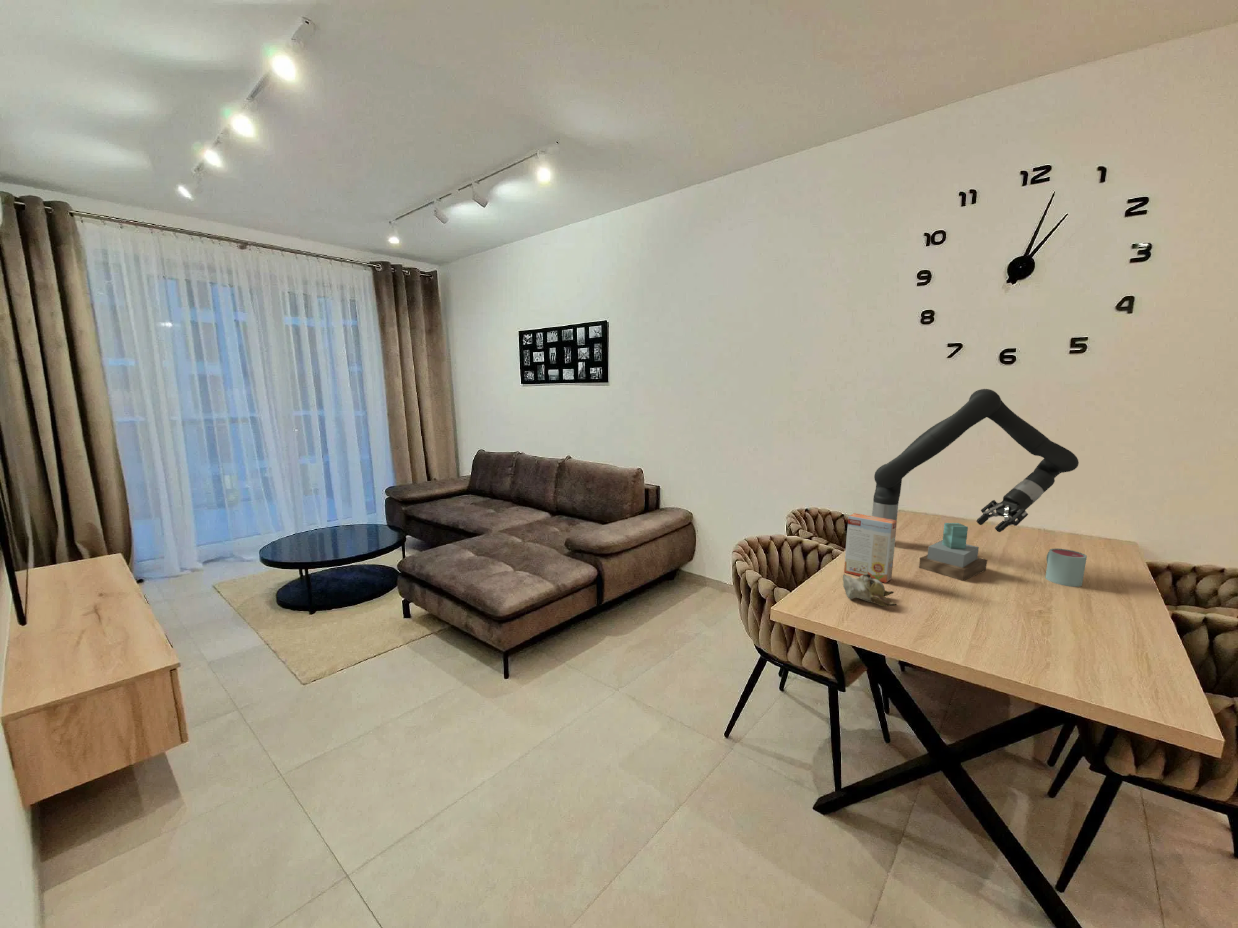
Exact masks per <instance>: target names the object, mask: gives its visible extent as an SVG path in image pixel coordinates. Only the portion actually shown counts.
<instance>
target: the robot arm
mask: <svg viewBox="0 0 1238 928" xmlns="http://www.w3.org/2000/svg"><path fill="white" fill-rule="evenodd" d="M986 418H988V419H989V420H991V421H992V422H993V423H995V424H996V425H998V427H1000V428H1001V429H1002V430H1003V431H1004V432H1005V433H1006V434H1008V436H1010V437H1011V438H1012V439H1013V440H1014V442H1016V443H1017V444H1018V445H1019V446H1021V447H1022V448H1023V449H1024V450H1026V451H1027V452H1028V453H1029V454H1031V455H1033V456H1037V457H1041V458H1043V459H1042V460H1040V462H1039V463H1038V464H1037V465H1036V467H1035V468H1034V470H1033V471H1032V472H1031V473H1030V474H1029V475H1028V474H1027V476H1026V477H1025V478H1023V480H1021V481H1020V482H1018V483H1017V484H1016V485H1015V486H1013V487H1012V488H1011V489H1010V490H1009V491H1008V492H1007V493H1006V494H1004V495H1003V497H1002V501H1000V502H997V501H996V500H995V499H993V500H991V501H990V502H989V503H988V504H986V505H985V506H984V507H983V508H981V509H980V512H981V513H982V514H981V515H980V516H979V517H978V518H977V519H976V522H977V524H978V525H980V526H982V525H984V524H985V523H986V522H987V521H989V519H991V518H992V517H1003V518H1004V519H1003V520H1002V521H1000V522H999V523H998V524H997V525H996V526H995V527H994V530H996V532H998V533H1001V532H1003V531H1004V530H1005V529H1006V528H1007V527H1009V526H1014V527H1016V526H1019V524H1020V523H1022V521H1023V520H1024V519H1025V518H1026V517H1028V515H1029V513H1028V512H1027V511H1026V510H1028V508H1030V507H1031V506H1032V505H1033V504H1034V503H1035V502H1037V501H1038V500H1039V499H1040V498H1041V497H1042V495H1044V493H1045V492H1047V491H1048V490H1049V489H1050V488H1051V487H1052V486H1053V485H1054V484H1055V481H1056V480H1055V479H1056V477H1058V476H1059V475H1060V474H1062V473H1063V474H1064V473H1070V472H1072V471H1075V470H1076V469H1077V468H1078V467H1079V459H1078V457H1077V456H1076V454H1075V453H1073V452H1072V451H1071V450H1070V449H1068V448H1066V447H1064V446H1062V445H1060V444H1059V443H1056V442H1054V441H1053V440H1050V439H1049V437H1047V436H1046V435H1045V434H1043V433H1042V432H1041V431H1040V430H1038V429H1037V428H1036V427H1035V426H1032V425H1031V424H1030V423H1029V422H1027V421H1025V419H1023V418H1021V417H1020V416H1019V415H1017V414H1016V413H1015V412H1014V411H1013V410H1011V408H1010V407H1008V406H1007V405H1006V403H1004V402H1003V400H1002V398H1001V396H1000V395H999V394H998V393H997V392H996V391H995V390H993V389H989V388H981V389H978V390H975V391H974V392H973V393H971V395H970V396H969V398H968V401H966V403H964V404H963V406H961V407H960V408H959V409H958V410H957V411H955V412H954V413H953V414H952V415H950V416H948V417H946V418H945V419H943V420H940V421H939V422H938V423H936V424H934V425H932V426H930V428H929V429H927V430H926V431H924V432H922V434H920V435H919V436H918V437H917V438H915V440H913V441H912V442H911V443H910V444H909V445H908V446H907V447H906V448H905V449H904V450H903V451H902V452H901V453H900V454H899V455H898V456H896V457H895V458H893V459H892V460H890V461H889V462H886V463H885V464H882V465H880V466H879V467H878V468H876V470H875V472H874V478H873V479H874V482H875V490H874V495H873V502H872V511H871V512H872V513H871V516H874V517H880V518H885V519H891V520H898V513H899V511H898V510H899V504H900V503H899V501H900V496H901V491H902V484H903V483H902V482H903V478H905V477H906V475H908V474H909V473H910V472H911V471H913V470H914V469H915V468H917V467H918V466H920V465H922V464H924V463H925V462H928V460H931V459H932V458H933V457H936V455H938V454H939V453H941V452H942V451H944V450H945V449H947V448H948V447H949V446H950V445H951V444H952V443H954V442H955V441H956V440H957V439H959V438H960V437H962V435H964V433H966V431H968V430H969V429H970V428H972V427H973V426H974V425H976V424H977V423H981V421H983V420H984V419H986Z"/></svg>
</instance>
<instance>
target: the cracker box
mask: <svg viewBox="0 0 1238 928" xmlns="http://www.w3.org/2000/svg"><path fill="white" fill-rule="evenodd" d="M897 520H898V519H897ZM897 520H891V519H885V518H880V517H874V516H872V515H867V514H861V513H856V512H854V513H853V514H850V515H848V519H847V530H846V542H845V555H844V565H843V566H844V567H843V573H847V574H850V575H854V576H858V577H860V576H861V575H864V574H865V575H867V574H869V575H870V577H871V578H874V579H878V580H879V581H880V582H881V583H885V584H886V583H888V582H889V581H890V580H892V578H893V577H892V576H893V569H894V568H893V567H894V566H893V565H894V557H895V546H896V538H897V537H896V536H897V525H898V521H897Z"/></svg>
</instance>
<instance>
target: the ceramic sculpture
mask: <svg viewBox="0 0 1238 928" xmlns="http://www.w3.org/2000/svg"><path fill="white" fill-rule="evenodd" d="M842 583H843V584H842V585H843V589H844V591H845V595H846V597H847V598H848V599H849V600H853V599H855V598H857V599H860V600H863V601H865V602H868V603H874V604H876V605H878V606H881V607H895V606H898V604H897V603H896V602H893V601H892V600H891V599H890V598H889V597H888V596H890V595H893V594H894V591H892V590H885V586H884V584H883V582H880V581H879V580H878V579H874V578H871V577H870V575H869V574H867V575H865V574H864V575H861V576H858V577H857V578H856V577H852V576H851V575H846V574H843V575H842Z"/></svg>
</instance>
